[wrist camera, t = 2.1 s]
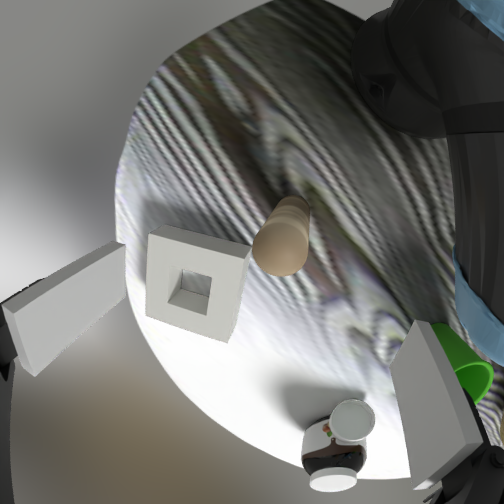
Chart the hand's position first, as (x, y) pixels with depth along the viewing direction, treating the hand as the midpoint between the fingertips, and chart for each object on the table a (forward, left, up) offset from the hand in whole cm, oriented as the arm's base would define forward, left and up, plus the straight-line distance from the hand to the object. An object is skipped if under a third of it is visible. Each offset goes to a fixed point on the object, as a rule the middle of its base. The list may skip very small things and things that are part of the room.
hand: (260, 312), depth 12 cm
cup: (+11, +23, -21) cm, 33 cm away
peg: (0, 0, -20) cm, 21 cm away
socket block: (+10, -9, -20) cm, 25 cm away
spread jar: (+30, +16, -21) cm, 40 cm away
